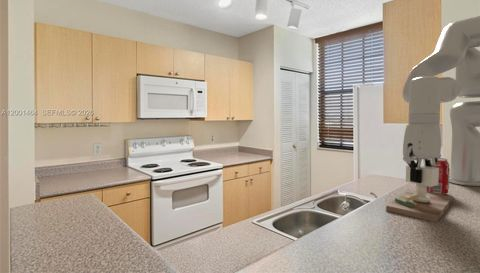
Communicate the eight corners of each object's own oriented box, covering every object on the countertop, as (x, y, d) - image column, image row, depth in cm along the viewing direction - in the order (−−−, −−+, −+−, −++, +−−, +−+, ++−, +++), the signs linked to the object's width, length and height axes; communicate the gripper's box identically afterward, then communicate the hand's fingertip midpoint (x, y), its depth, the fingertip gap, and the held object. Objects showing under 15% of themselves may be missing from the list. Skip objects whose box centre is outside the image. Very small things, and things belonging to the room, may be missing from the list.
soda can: (439, 190, 95) (441, 157, 94) (453, 196, 88) (455, 160, 87) (419, 190, 96) (420, 157, 95) (431, 196, 89) (432, 160, 88)
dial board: (408, 194, 92) (408, 186, 92) (452, 201, 83) (453, 193, 83) (386, 210, 77) (386, 202, 77) (436, 222, 68) (437, 212, 68)
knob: (413, 195, 84) (414, 164, 83) (438, 202, 78) (439, 167, 77) (394, 200, 80) (395, 167, 79) (419, 207, 74) (420, 171, 73)
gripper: (431, 119, 84) (429, 176, 85) (390, 120, 79) (389, 181, 80) (457, 119, 77) (454, 181, 78) (414, 120, 72) (412, 187, 73)
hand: (421, 180), depth 79 cm, fingers open, 4 cm apart
